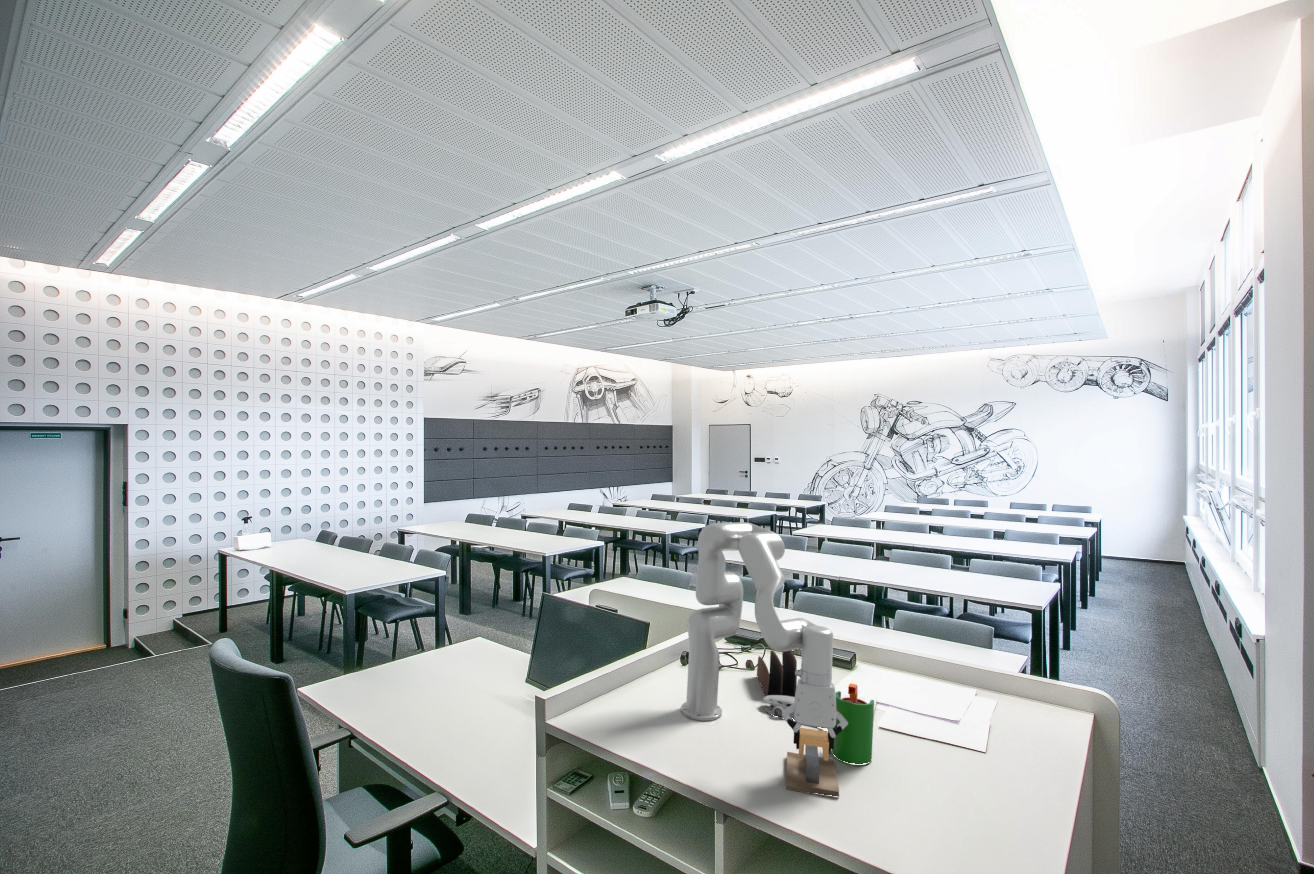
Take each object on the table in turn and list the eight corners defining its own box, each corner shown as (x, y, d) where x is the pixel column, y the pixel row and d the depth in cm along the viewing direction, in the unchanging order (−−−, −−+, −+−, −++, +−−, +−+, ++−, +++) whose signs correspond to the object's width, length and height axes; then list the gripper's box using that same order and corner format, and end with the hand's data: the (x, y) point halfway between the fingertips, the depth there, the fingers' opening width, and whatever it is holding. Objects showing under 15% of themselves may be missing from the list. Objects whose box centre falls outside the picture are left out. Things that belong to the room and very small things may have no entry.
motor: (871, 753, 163) (874, 680, 164) (871, 769, 155) (875, 691, 155) (832, 746, 167) (836, 673, 167) (831, 760, 158) (834, 684, 159)
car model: (834, 736, 174) (835, 719, 174) (756, 712, 187) (757, 696, 187) (845, 723, 183) (845, 706, 183) (770, 701, 196) (771, 686, 196)
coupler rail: (804, 758, 156) (805, 744, 156) (816, 759, 155) (817, 746, 155) (806, 781, 144) (806, 767, 144) (818, 784, 143) (819, 769, 143)
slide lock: (798, 745, 153) (799, 727, 153) (826, 749, 152) (827, 731, 152) (798, 756, 147) (799, 737, 147) (828, 760, 146) (829, 742, 146)
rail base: (787, 757, 159) (787, 751, 159) (833, 764, 156) (834, 759, 156) (786, 789, 143) (786, 782, 143) (838, 798, 140) (839, 791, 140)
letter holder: (783, 678, 217) (785, 639, 218) (796, 700, 198) (798, 657, 198) (756, 677, 217) (758, 638, 218) (766, 699, 197) (768, 656, 198)
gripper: (780, 677, 149) (777, 750, 148) (853, 687, 145) (850, 761, 144) (781, 667, 156) (778, 737, 155) (850, 676, 152) (848, 747, 151)
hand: (813, 748), depth 150 cm, fingers closed on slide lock, 7 cm apart
